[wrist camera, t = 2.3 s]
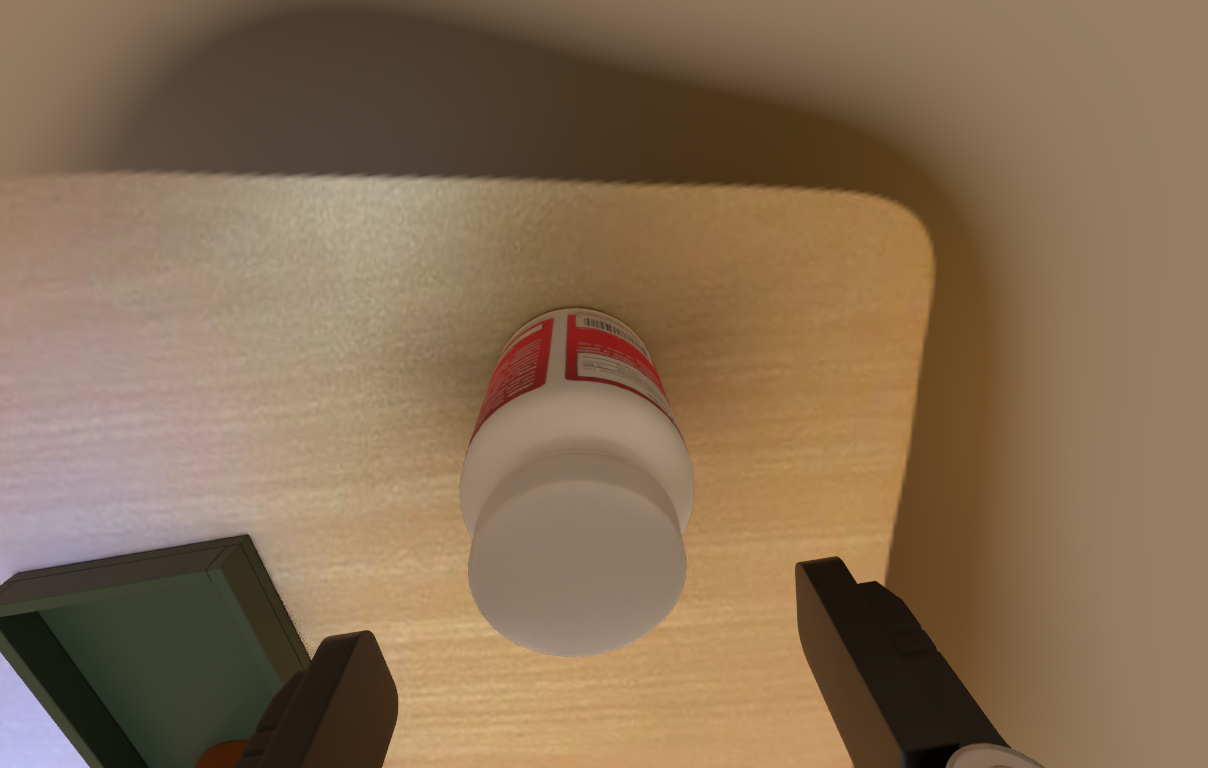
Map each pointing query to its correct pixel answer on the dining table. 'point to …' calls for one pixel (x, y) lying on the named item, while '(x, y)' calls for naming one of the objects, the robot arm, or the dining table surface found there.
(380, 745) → the robot arm
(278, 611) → the tray
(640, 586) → the pill bottle
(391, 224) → the dining table surface
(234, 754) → the amber bottle middle
